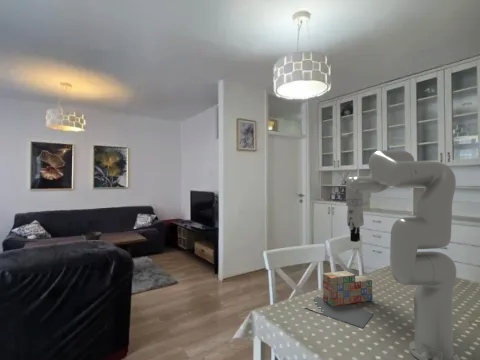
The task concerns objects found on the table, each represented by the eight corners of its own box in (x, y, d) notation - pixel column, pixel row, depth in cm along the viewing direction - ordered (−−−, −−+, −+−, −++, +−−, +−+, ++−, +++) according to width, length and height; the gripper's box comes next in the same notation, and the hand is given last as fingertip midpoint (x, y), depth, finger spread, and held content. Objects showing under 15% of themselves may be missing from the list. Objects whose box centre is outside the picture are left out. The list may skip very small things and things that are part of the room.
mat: (362, 328, 96) (362, 327, 96) (303, 308, 112) (303, 307, 112) (373, 313, 106) (373, 313, 106) (317, 297, 122) (317, 296, 122)
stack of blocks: (362, 295, 124) (362, 268, 124) (372, 300, 118) (372, 273, 118) (322, 300, 118) (322, 272, 119) (331, 306, 112) (331, 277, 112)
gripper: (357, 204, 118) (357, 245, 118) (367, 202, 130) (368, 239, 130) (340, 203, 123) (341, 242, 123) (352, 201, 135) (352, 237, 135)
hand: (355, 240), depth 127 cm, fingers closed
